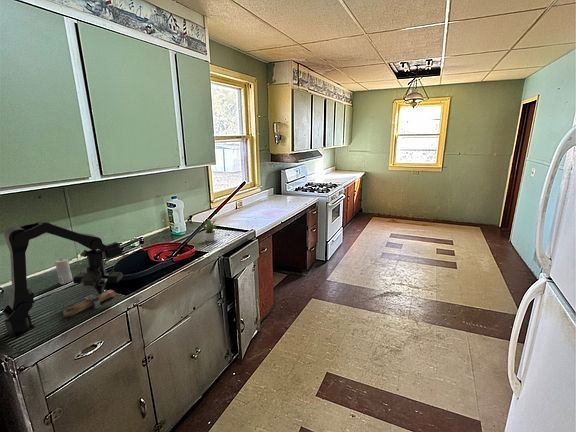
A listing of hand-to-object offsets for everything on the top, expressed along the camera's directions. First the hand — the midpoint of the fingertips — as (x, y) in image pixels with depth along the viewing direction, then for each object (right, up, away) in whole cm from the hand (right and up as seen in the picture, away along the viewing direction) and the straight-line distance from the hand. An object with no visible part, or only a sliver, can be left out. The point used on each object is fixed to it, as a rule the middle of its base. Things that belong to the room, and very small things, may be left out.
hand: (101, 294), depth 136 cm
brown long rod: (-1, -3, -6) cm, 7 cm away
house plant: (+30, +19, +76) cm, 84 cm away
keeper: (0, -3, -5) cm, 6 cm away
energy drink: (-27, +2, +16) cm, 32 cm away
